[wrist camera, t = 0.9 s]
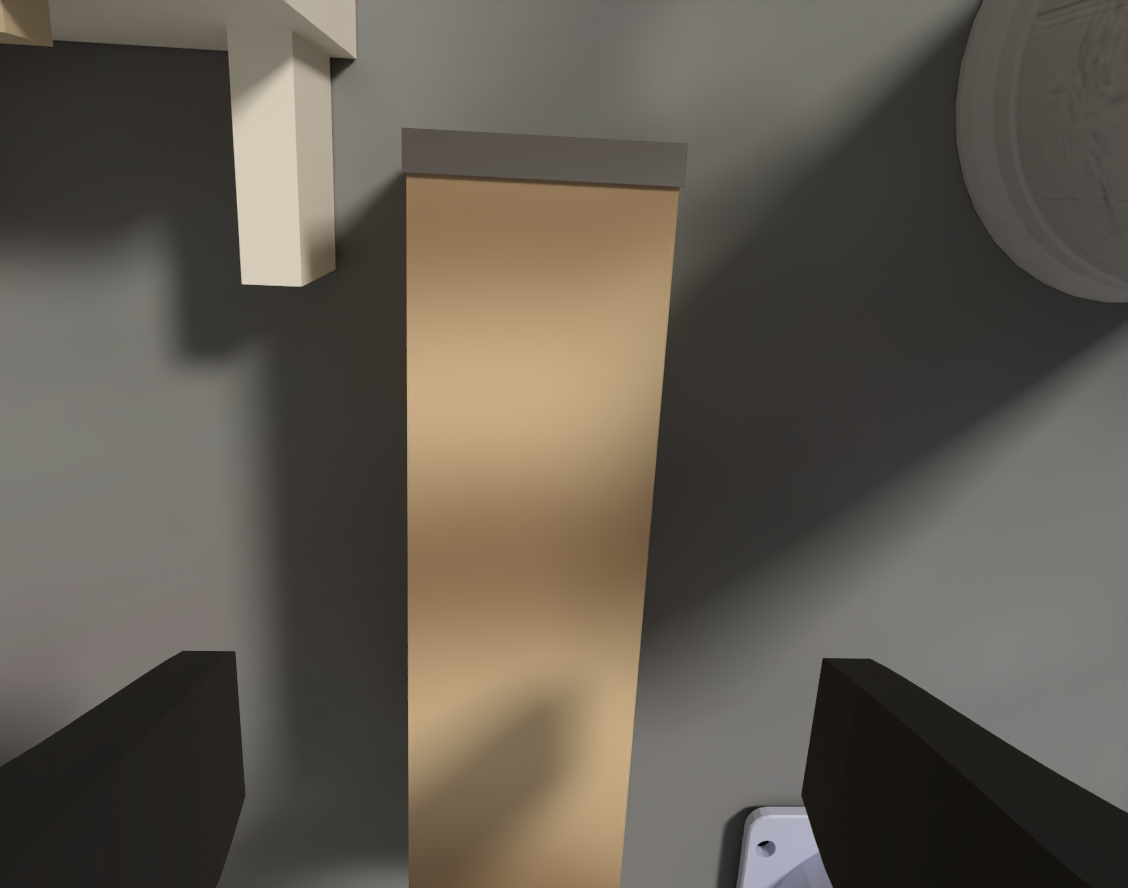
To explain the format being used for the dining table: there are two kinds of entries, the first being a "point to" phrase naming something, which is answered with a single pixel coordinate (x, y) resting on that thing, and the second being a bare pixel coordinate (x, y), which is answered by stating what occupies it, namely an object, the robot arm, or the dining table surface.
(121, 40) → the post
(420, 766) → the rail
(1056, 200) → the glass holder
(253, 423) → the dining table surface
